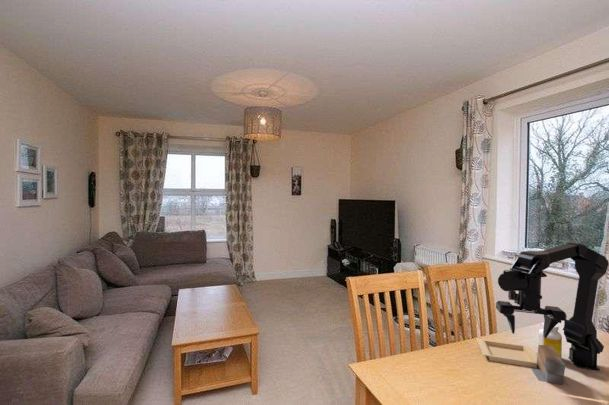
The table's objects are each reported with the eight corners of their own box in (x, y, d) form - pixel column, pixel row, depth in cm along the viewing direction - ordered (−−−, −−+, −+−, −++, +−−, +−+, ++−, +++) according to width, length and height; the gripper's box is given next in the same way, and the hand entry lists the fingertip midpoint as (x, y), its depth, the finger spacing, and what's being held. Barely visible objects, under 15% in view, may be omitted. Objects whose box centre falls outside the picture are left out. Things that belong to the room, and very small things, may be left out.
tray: (530, 352, 119) (530, 346, 119) (543, 370, 106) (544, 363, 106) (476, 344, 125) (476, 338, 125) (483, 361, 112) (483, 354, 112)
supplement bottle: (566, 364, 110) (567, 328, 110) (547, 364, 110) (548, 328, 110) (551, 354, 117) (552, 320, 116) (533, 354, 117) (534, 320, 117)
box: (550, 364, 106) (553, 346, 104) (562, 385, 97) (565, 365, 96) (536, 362, 107) (538, 344, 105) (546, 382, 99) (549, 363, 97)
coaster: (558, 373, 104) (558, 371, 104) (569, 387, 97) (569, 385, 97) (530, 369, 107) (530, 367, 107) (538, 382, 100) (539, 380, 100)
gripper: (552, 286, 110) (550, 329, 110) (492, 280, 116) (491, 322, 116) (568, 295, 99) (566, 343, 100) (501, 289, 105) (499, 335, 105)
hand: (528, 335), depth 105 cm, fingers open, 9 cm apart
